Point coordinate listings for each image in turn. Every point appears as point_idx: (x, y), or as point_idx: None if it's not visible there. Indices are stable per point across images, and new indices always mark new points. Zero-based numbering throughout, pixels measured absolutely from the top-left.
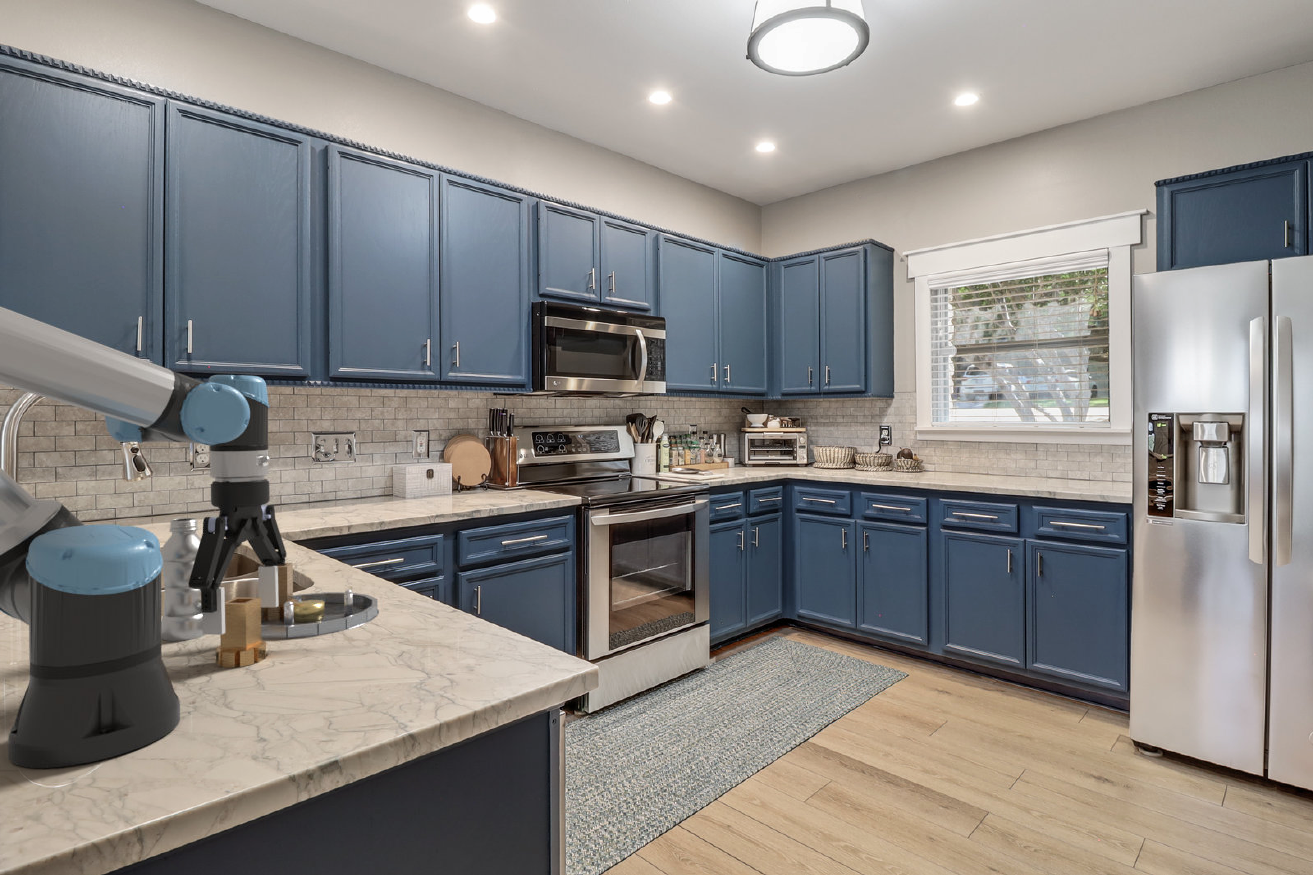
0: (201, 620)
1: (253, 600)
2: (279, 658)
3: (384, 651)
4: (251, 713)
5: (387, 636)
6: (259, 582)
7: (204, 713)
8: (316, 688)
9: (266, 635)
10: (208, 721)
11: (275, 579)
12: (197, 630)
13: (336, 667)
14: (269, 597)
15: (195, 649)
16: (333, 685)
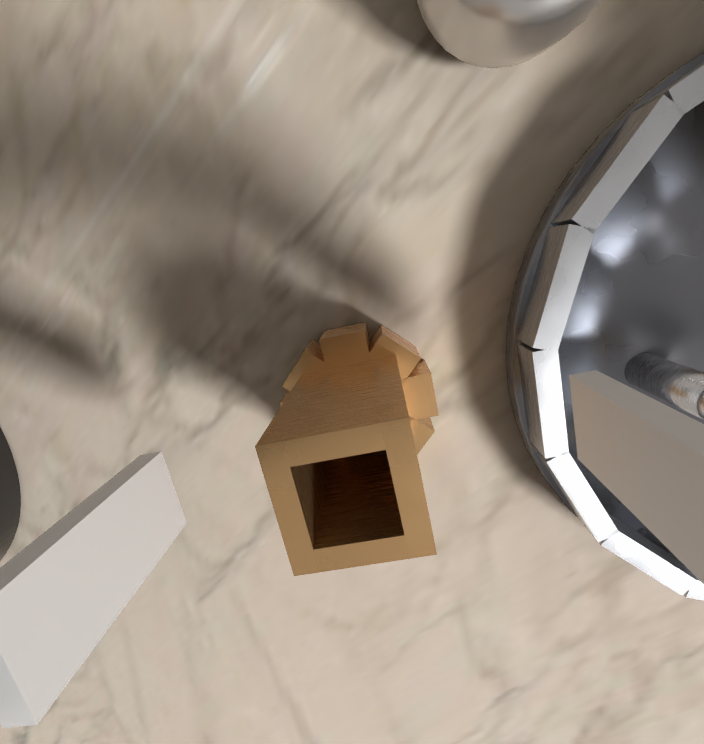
0: (523, 32)
1: (371, 558)
2: None
3: (515, 708)
4: (91, 658)
5: (654, 656)
6: (657, 432)
7: None
8: (243, 695)
9: (523, 370)
10: None
11: (679, 556)
12: (485, 55)
13: (374, 665)
14: (599, 452)
15: (425, 123)
16: (269, 716)
